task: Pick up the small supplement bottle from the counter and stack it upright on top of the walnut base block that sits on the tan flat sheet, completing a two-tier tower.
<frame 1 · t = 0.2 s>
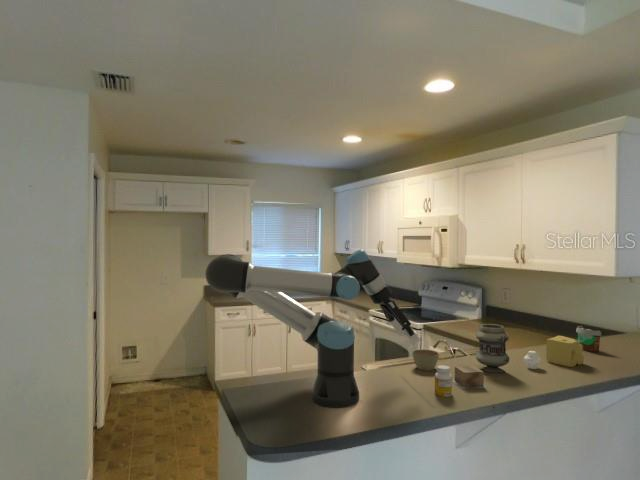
hand: (409, 338, 152), 16 cm above the counter, tool tilted 35°, fingers open, 13 cm apart
supplement bottle: (443, 397, 137), on the counter
tan flat sheet: (468, 386, 147), on the counter
walnut block: (468, 383, 147), point 1 cm above the counter, touching tan flat sheet
cheese: (564, 363, 176), on the counter
white rounded lump: (532, 368, 169), on the counter
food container: (585, 350, 198), on the counter
apothecary jar: (492, 372, 163), on the counter
flower pot: (425, 371, 164), on the counter
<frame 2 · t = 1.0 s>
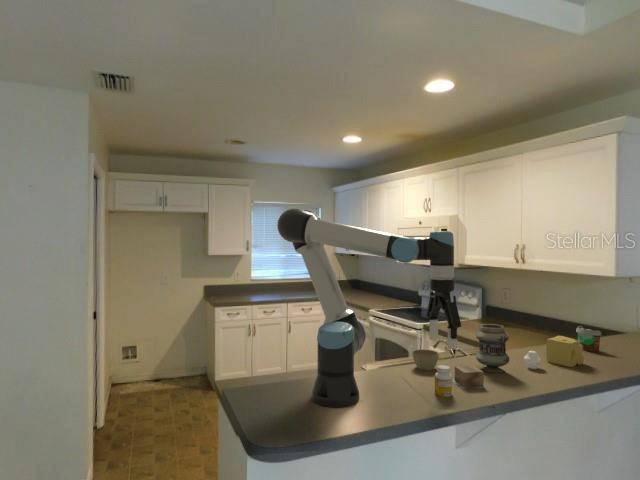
hand: (442, 343, 137), 17 cm above the counter, tool pointing down, fingers open, 13 cm apart
nothing on the counter moved.
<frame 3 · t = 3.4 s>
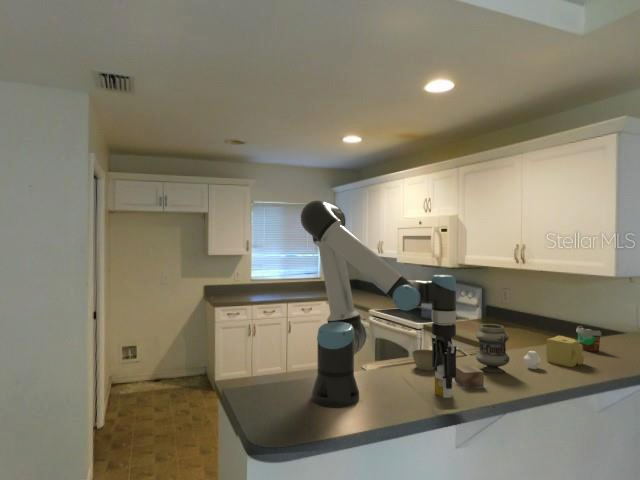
hand: (443, 394, 137), 1 cm above the counter, tool pointing down, fingers closed on supplement bottle, 5 cm apart
supplement bottle: (443, 397, 137), on the counter, touching gripper
everything else where it was.
when the fingers open (8 cm above the counter, at t = 8.4 s): supplement bottle drops 1 cm, resting on walnut block.
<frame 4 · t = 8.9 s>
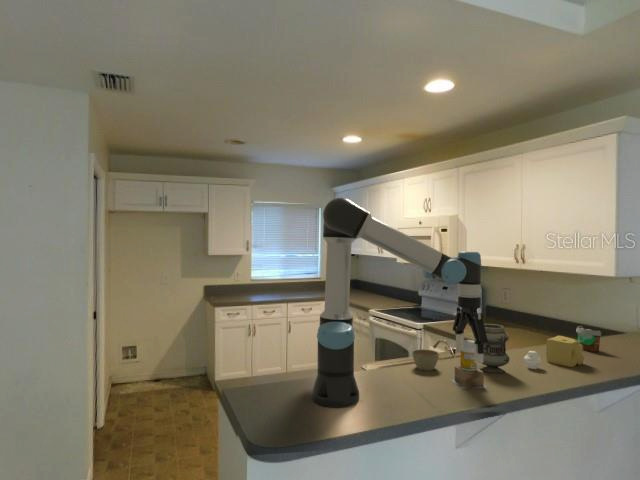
hand: (468, 357, 147), 10 cm above the counter, tool pointing down, fingers open, 13 cm apart
supplement bottle: (468, 369, 147), point 6 cm above the counter, touching walnut block
walnut block: (468, 383, 147), point 1 cm above the counter, touching tan flat sheet, supplement bottle
everything else where it was.
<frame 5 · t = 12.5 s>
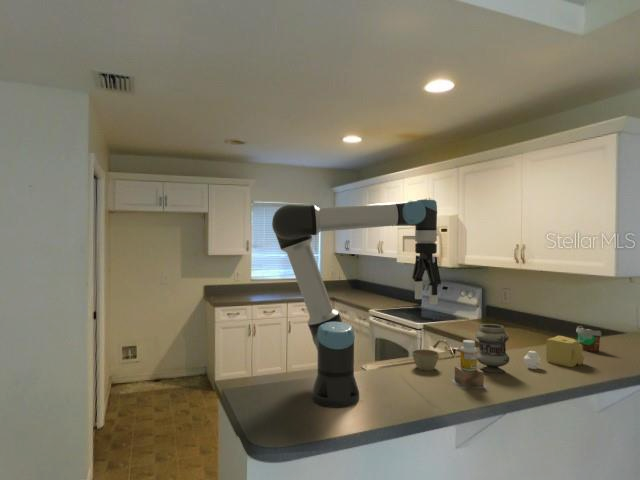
hand: (425, 301, 152), 29 cm above the counter, tool pointing down, fingers open, 13 cm apart
nothing on the counter moved.
at the end: supplement bottle 0.1 cm from the walnut block (horizontally); supplement bottle point 5.9 cm above the counter; supplement bottle tilted 0° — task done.
